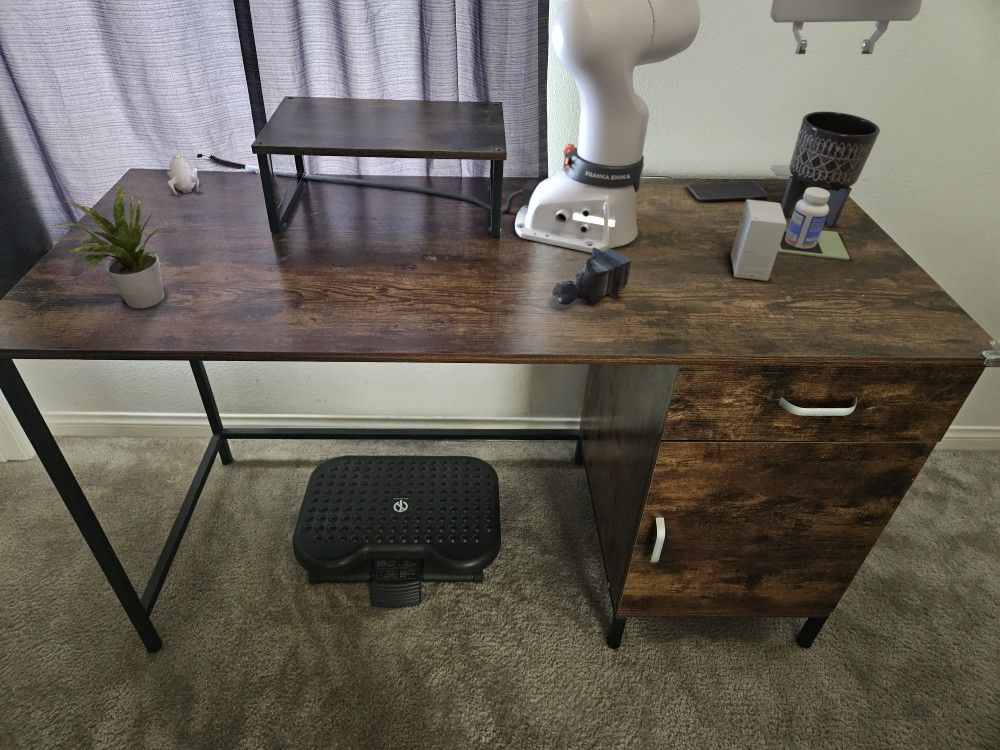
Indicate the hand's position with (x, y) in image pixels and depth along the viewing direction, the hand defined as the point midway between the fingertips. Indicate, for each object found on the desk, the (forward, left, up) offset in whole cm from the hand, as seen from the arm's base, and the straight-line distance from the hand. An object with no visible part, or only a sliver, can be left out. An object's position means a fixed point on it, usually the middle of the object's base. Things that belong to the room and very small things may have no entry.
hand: (832, 53), depth 101 cm
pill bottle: (+4, -4, -31) cm, 31 cm away
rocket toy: (-112, -9, -31) cm, 117 cm away
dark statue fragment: (-32, -29, -31) cm, 53 cm away
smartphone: (-7, +16, -31) cm, 35 cm away
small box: (-6, -14, -31) cm, 35 cm away
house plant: (-99, -44, -31) cm, 113 cm away
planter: (+8, +10, -31) cm, 33 cm away
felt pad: (+5, -2, -31) cm, 31 cm away
